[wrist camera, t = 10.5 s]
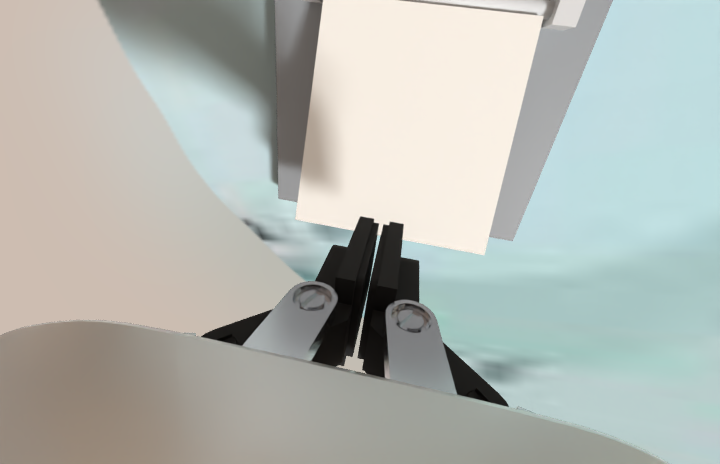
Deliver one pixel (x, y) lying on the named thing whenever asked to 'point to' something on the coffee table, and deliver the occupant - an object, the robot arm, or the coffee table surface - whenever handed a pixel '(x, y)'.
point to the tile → (414, 117)
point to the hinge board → (538, 111)
